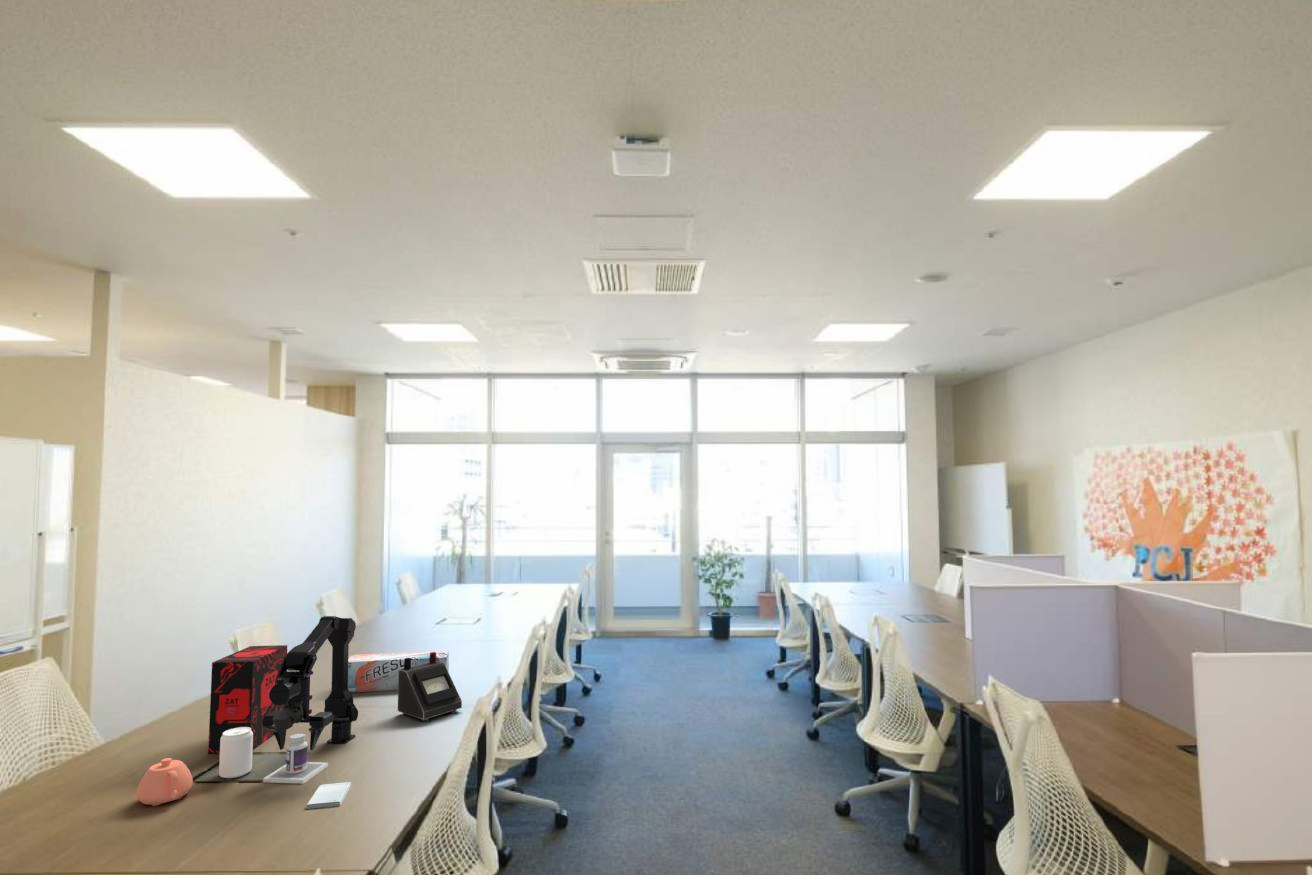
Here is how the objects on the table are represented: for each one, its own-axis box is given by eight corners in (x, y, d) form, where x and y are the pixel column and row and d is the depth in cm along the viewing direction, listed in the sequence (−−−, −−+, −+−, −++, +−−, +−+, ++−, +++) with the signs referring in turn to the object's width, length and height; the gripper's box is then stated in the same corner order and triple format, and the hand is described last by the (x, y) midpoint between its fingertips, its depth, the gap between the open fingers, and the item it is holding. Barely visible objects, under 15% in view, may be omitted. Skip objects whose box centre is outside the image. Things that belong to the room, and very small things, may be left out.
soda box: (341, 694, 274) (341, 662, 275) (348, 685, 287) (349, 654, 288) (446, 687, 283) (446, 655, 284) (448, 678, 296) (449, 648, 297)
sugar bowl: (183, 784, 189) (185, 747, 190) (201, 798, 180) (202, 759, 181) (129, 800, 180) (131, 760, 181) (145, 816, 171) (147, 774, 172)
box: (249, 752, 213) (252, 661, 215) (208, 754, 212) (212, 662, 214) (284, 727, 236) (287, 645, 238) (247, 728, 235) (250, 645, 237)
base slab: (289, 765, 202) (289, 761, 202) (327, 766, 201) (328, 762, 201) (262, 782, 190) (263, 778, 190) (303, 783, 189) (303, 779, 189)
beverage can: (214, 781, 191) (216, 737, 192) (224, 769, 199) (226, 727, 200) (246, 777, 194) (248, 734, 195) (255, 766, 201) (256, 725, 202)
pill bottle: (310, 766, 199) (311, 732, 200) (301, 773, 193) (302, 738, 194) (291, 766, 199) (292, 732, 199) (282, 774, 193) (283, 739, 194)
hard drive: (340, 801, 176) (351, 781, 188) (306, 804, 174) (319, 784, 186) (340, 807, 176) (350, 787, 188) (305, 811, 174) (319, 790, 186)
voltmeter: (423, 724, 238) (425, 665, 239) (397, 715, 248) (398, 659, 249) (462, 712, 250) (462, 656, 252) (435, 703, 260) (436, 650, 262)
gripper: (249, 702, 190) (247, 759, 189) (312, 703, 189) (310, 761, 187) (275, 690, 201) (273, 744, 200) (335, 691, 200) (333, 746, 198)
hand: (296, 749), depth 196 cm, fingers open, 9 cm apart
